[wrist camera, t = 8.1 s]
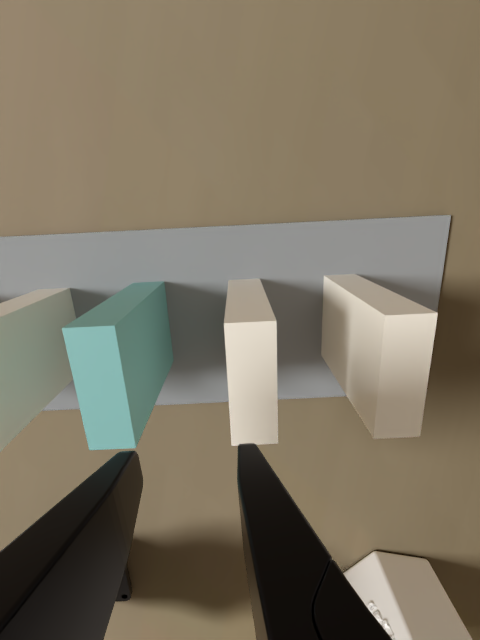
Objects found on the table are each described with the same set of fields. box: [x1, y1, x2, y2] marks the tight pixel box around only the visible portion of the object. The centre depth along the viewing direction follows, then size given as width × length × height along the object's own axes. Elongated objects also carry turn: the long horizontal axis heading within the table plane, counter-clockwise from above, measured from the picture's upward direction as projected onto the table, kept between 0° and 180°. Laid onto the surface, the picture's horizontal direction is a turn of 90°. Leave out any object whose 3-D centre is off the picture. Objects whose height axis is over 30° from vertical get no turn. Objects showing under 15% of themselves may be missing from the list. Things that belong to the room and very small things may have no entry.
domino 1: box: [0, 288, 76, 452], centre depth 16 cm, size 2×5×8 cm, turn 3°
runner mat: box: [0, 215, 451, 411], centre depth 20 cm, size 11×37×1 cm, turn 93°
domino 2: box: [62, 281, 174, 450], centre depth 16 cm, size 2×5×8 cm, turn 3°
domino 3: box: [224, 279, 278, 446], centre depth 16 cm, size 2×5×8 cm, turn 2°
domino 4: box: [321, 274, 438, 439], centre depth 16 cm, size 2×5×8 cm, turn 2°
